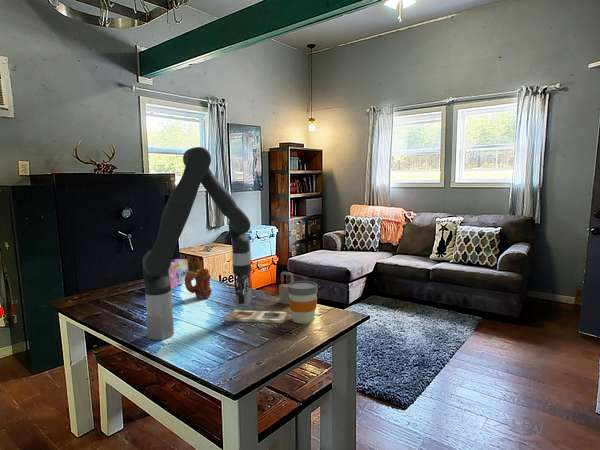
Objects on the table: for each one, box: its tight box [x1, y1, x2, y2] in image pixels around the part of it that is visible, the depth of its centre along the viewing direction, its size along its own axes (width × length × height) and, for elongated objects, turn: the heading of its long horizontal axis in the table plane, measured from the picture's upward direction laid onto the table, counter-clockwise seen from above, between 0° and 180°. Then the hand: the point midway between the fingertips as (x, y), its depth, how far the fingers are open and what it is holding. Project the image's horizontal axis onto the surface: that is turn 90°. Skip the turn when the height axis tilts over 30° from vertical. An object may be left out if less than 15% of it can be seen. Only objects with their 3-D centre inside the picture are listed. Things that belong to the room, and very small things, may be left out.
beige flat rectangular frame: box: [225, 309, 288, 324], centre depth 162 cm, size 24×10×1 cm, turn 80°
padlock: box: [278, 271, 295, 305], centre depth 181 cm, size 4×8×15 cm, turn 53°
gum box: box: [169, 258, 189, 289], centre depth 217 cm, size 24×8×14 cm, turn 168°
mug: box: [184, 268, 213, 299], centre depth 190 cm, size 15×8×15 cm, turn 141°
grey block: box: [234, 288, 252, 307], centre depth 162 cm, size 5×5×6 cm
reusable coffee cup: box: [287, 280, 318, 324], centre depth 158 cm, size 13×12×15 cm
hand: (243, 301), depth 163 cm, fingers closed on grey block, 5 cm apart
